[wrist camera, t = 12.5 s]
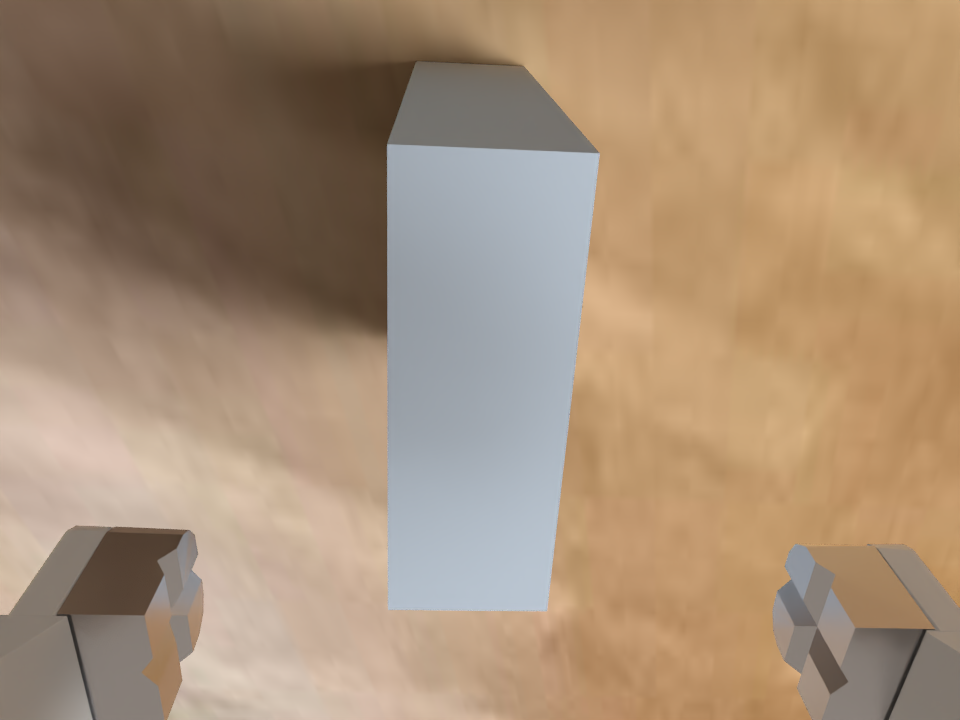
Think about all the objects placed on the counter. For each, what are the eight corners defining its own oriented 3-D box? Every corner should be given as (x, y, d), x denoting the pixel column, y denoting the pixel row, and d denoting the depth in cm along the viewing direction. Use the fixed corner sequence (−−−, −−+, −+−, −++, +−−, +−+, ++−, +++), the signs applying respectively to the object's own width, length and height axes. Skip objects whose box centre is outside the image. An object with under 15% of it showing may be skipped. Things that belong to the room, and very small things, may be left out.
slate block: (523, 66, 26) (599, 153, 13) (504, 344, 30) (546, 611, 17) (416, 60, 25) (386, 143, 13) (412, 341, 30) (387, 610, 17)
